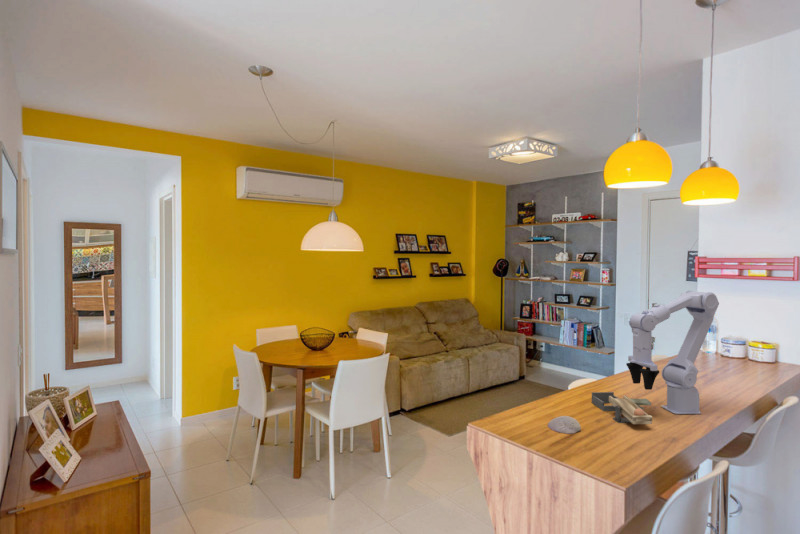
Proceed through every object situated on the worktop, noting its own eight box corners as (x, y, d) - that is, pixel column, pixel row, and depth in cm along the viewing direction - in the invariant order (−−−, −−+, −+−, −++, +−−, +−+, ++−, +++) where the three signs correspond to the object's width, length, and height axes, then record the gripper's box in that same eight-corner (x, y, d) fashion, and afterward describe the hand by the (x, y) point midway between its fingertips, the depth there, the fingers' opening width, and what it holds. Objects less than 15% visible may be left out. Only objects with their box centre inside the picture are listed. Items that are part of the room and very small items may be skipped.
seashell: (577, 427, 133) (545, 414, 139) (573, 444, 134) (542, 429, 140) (587, 417, 141) (557, 405, 147) (583, 432, 142) (553, 419, 148)
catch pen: (612, 402, 165) (612, 392, 165) (625, 410, 156) (625, 399, 156) (591, 402, 165) (591, 392, 165) (603, 411, 156) (603, 400, 156)
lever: (645, 400, 154) (645, 394, 154) (674, 423, 138) (674, 416, 138) (608, 401, 154) (609, 394, 154) (633, 424, 138) (633, 416, 138)
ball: (640, 415, 142) (641, 406, 142) (646, 419, 139) (646, 410, 139) (631, 415, 142) (632, 406, 142) (636, 419, 139) (637, 410, 139)
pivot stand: (639, 418, 148) (639, 404, 148) (646, 422, 144) (646, 408, 144) (612, 418, 148) (612, 404, 148) (618, 423, 144) (618, 408, 144)
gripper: (620, 343, 159) (620, 380, 159) (642, 352, 145) (642, 392, 145) (639, 343, 159) (639, 380, 159) (663, 352, 145) (663, 392, 145)
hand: (642, 386), depth 152 cm, fingers open, 7 cm apart
